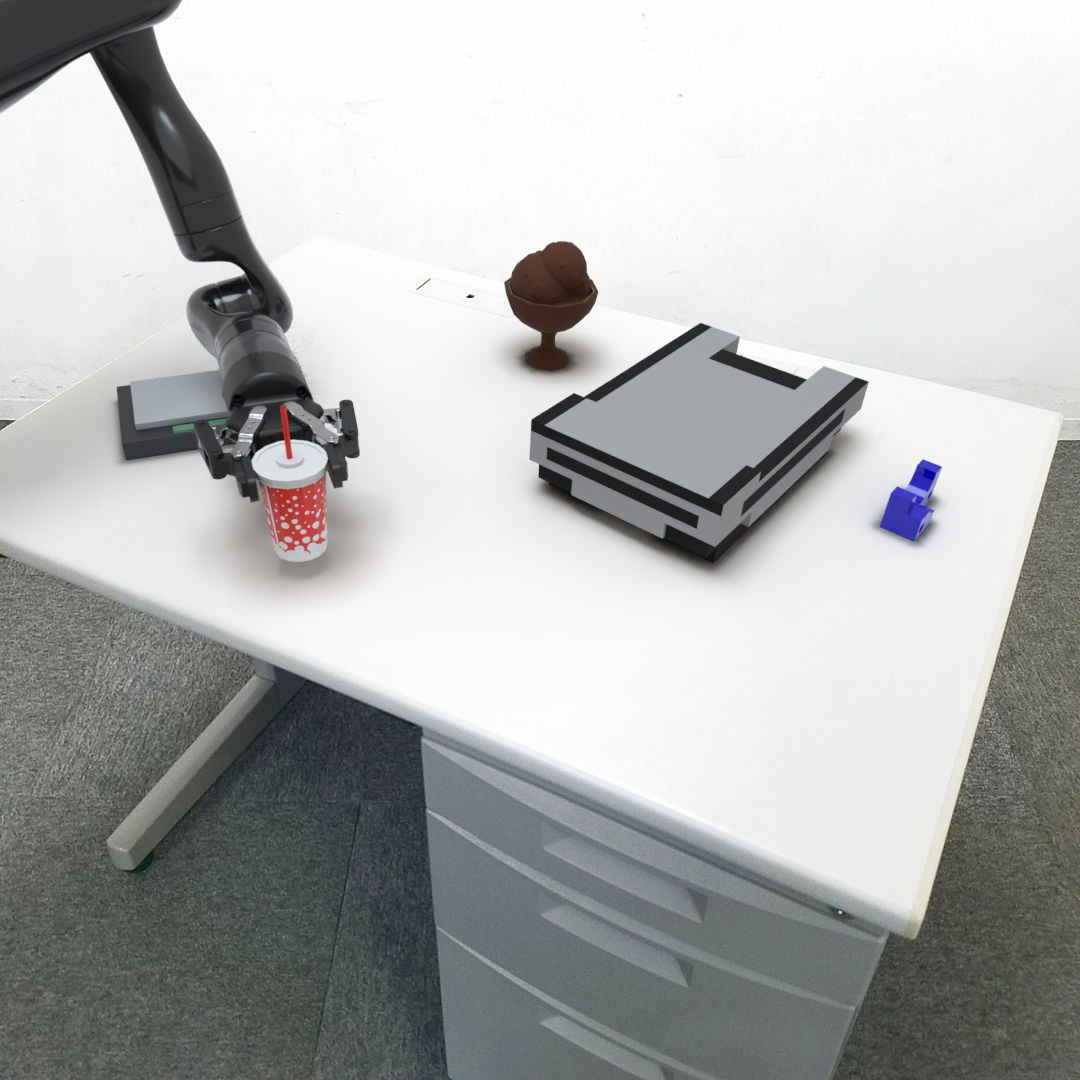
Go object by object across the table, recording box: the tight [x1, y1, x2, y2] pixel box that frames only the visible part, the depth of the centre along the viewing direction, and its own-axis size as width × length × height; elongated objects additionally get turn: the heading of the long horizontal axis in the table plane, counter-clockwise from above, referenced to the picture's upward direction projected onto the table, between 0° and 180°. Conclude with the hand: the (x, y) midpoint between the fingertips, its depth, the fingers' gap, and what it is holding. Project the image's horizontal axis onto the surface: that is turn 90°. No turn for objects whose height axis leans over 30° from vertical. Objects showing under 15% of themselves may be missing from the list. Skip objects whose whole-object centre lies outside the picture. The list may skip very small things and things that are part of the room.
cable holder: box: [879, 458, 943, 542], centre depth 94 cm, size 8×4×4 cm, turn 141°
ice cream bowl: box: [503, 240, 599, 372], centre depth 113 cm, size 11×11×15 cm
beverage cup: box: [251, 405, 329, 563], centre depth 80 cm, size 6×6×14 cm
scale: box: [116, 369, 236, 460], centre depth 103 cm, size 16×12×3 cm
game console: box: [529, 322, 869, 564], centre depth 99 cm, size 21×32×8 cm, turn 142°
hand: (296, 485), depth 77 cm, fingers closed on beverage cup, 6 cm apart
